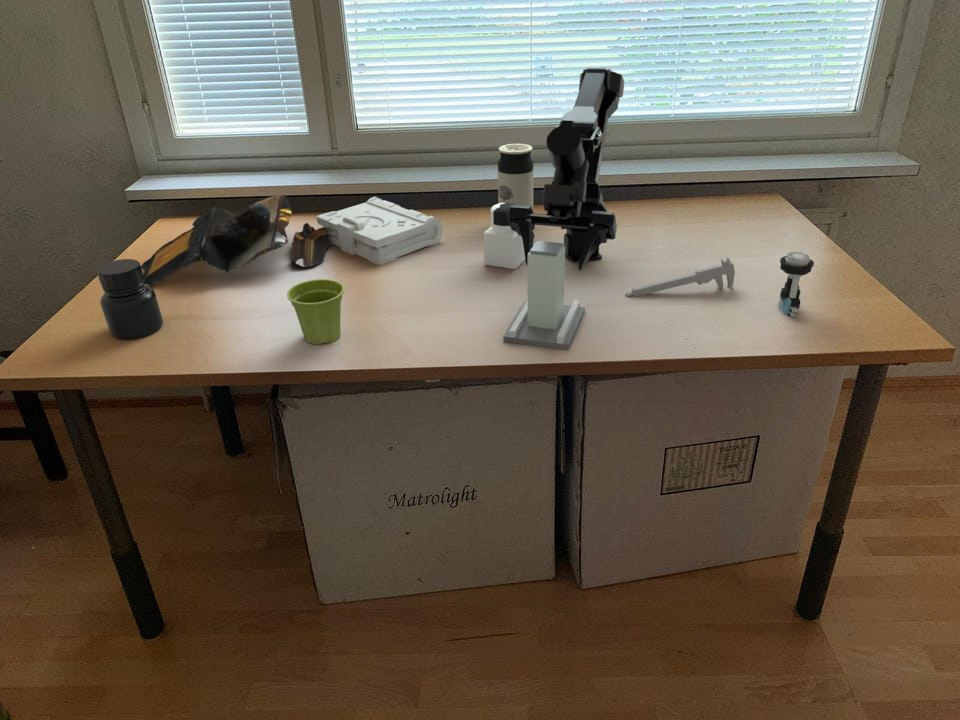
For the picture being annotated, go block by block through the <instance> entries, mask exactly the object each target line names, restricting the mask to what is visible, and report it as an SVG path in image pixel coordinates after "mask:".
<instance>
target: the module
mask: <svg viewBox="0 0 960 720" xmlns="http://www.w3.org/2000/svg"><path fill="white" fill-rule="evenodd" d="M565 264H566V254H565V246H564V242H553V241H546V240H545V241H542V240H537V241H536V242H535V243H533V247H532V248H531V250H530V252H529V253H528V266H527V300H528V312H527V326H532V327H539V328H547V329H554V330H556V329H557V327H558V325H559V323H560V322H561V320H562V318H563V306H564V305H565V304H564V301H565V300H564V299H565V273H566V272H565V270H566V269H565V268H566V265H565Z"/></svg>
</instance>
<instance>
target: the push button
mask: <svg viewBox="0 0 960 720" xmlns="http://www.w3.org/2000/svg"><path fill="white" fill-rule="evenodd" d="M779 263H780V266H779V267H780V270H781V271H783V272H784V273H785V274H786V275H787V278H786V282H784V286H783V287H781V290H780V294H779V297H780V298H779V299H778V304H777V308H778V309H782V311H783V313H784V314H785V315H790V316H791V317H797V312H798V310H799V309H800V306H801V299H800V296H801V289H800V285H799V283H800V279H801V277H802V276H806V275H808V274H809V273H811V271H812V268H813V267H814V264H815V262H814V260H812V259H811V258H810V256H809V255H808V254H807V253H804V252H801V251H800V252H799V251H791V252H788V253H786V255H785V256H782V257H780V259H779Z"/></svg>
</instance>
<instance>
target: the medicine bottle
mask: <svg viewBox="0 0 960 720" xmlns="http://www.w3.org/2000/svg"><path fill="white" fill-rule="evenodd" d="M512 205H516V204H513V203H499V202H498V203H496V204H494V205H492V206H491V208H490V227H489V228H488V229H486V230H485V231H484V232H483V234H482V235H483V261H484V262H483V263H484V266H489V267H490V266H491V267H497V268H504V269H510V270H516V269H517V268H519V267H520V265H522V264H523V263H524V261H525V253H524V246H523V240H522V236H519V235H518V234H517V232H515V231H513V230H512V229H511V227H510V225H509V223H508V221H507V219H506V216H507V211H508V209H509V208H510V207H511V206H512Z"/></svg>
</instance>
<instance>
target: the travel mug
mask: <svg viewBox="0 0 960 720" xmlns="http://www.w3.org/2000/svg"><path fill="white" fill-rule="evenodd" d="M532 150H533V146H532V145H530V144H526V143H525V144H524V143H509V144H504V145H501V146H499V147H498V151H499V153H500V154H499V155H500V157H499V160H498V162H497V179H498V180H497V186H498V187H497V191H498V193H497V195H498V196H497V197H498V198H497V199H498V204H499V203H513V204H516V205H523V206H531V208H532V210H533V211H534V160H533V158H532V156H531V155H532Z"/></svg>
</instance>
